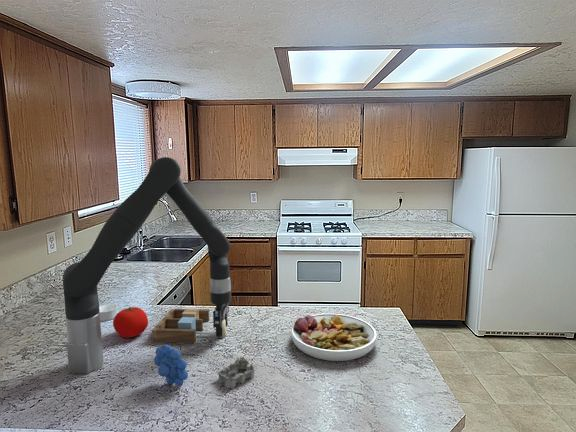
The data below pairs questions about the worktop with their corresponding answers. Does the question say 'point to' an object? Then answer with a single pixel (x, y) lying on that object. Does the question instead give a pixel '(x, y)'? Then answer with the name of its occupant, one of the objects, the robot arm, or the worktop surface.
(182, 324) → the tethered block
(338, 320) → the bowl
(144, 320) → the tomato
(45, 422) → the worktop surface
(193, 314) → the plain oak block
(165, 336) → the lane rack
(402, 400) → the worktop surface
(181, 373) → the grapes
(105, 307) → the ramekin
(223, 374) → the egg carton
